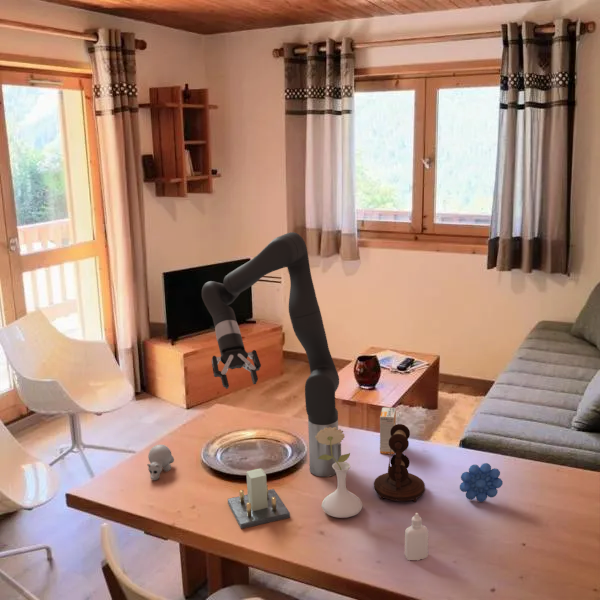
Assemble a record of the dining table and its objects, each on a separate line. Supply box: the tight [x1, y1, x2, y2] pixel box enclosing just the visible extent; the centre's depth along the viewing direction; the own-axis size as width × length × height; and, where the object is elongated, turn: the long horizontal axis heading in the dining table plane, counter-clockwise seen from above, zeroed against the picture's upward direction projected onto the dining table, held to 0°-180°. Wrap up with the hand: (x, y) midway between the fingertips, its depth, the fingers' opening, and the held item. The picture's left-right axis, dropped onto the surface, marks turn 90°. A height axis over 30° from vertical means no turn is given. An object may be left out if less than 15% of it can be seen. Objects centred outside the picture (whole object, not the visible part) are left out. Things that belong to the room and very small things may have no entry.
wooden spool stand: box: [373, 423, 426, 503], centre depth 197 cm, size 15×15×20 cm
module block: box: [245, 468, 268, 511], centre depth 190 cm, size 4×4×10 cm
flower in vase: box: [315, 427, 363, 519], centre depth 188 cm, size 13×11×25 cm
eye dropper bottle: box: [404, 512, 429, 561], centre depth 167 cm, size 4×6×12 cm
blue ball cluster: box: [459, 462, 503, 503], centre depth 192 cm, size 12×7×12 cm, turn 73°
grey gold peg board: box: [227, 484, 291, 530], centre depth 191 cm, size 14×14×5 cm
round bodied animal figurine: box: [147, 443, 175, 481], centre depth 214 cm, size 7×12×8 cm, turn 168°
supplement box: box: [379, 407, 397, 455], centre depth 224 cm, size 8×5×13 cm, turn 168°
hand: (241, 385), depth 202 cm, fingers open, 8 cm apart
